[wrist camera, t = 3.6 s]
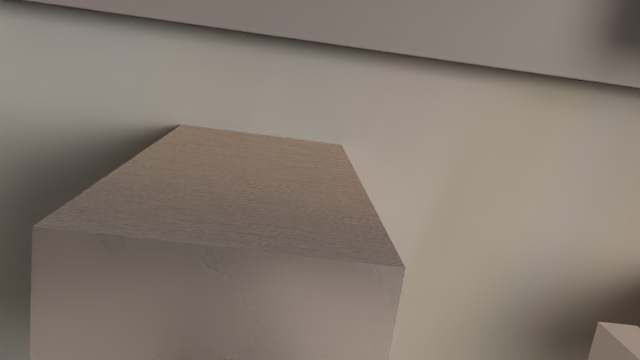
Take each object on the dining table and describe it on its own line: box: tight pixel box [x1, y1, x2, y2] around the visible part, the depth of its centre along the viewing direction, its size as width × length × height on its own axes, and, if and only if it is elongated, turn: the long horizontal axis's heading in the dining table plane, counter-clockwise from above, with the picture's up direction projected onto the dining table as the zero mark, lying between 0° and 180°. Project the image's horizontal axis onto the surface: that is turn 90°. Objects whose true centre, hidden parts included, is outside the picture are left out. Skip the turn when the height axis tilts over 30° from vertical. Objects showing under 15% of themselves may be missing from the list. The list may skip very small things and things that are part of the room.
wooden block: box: [30, 125, 405, 360], centre depth 13 cm, size 5×6×10 cm
